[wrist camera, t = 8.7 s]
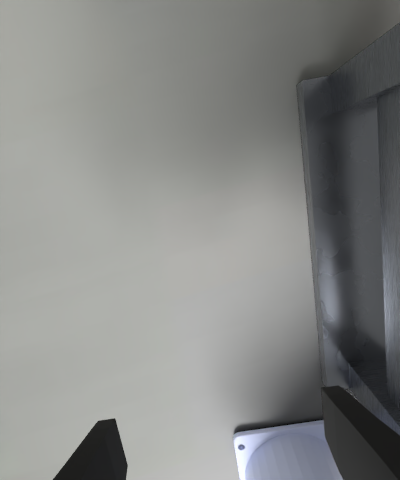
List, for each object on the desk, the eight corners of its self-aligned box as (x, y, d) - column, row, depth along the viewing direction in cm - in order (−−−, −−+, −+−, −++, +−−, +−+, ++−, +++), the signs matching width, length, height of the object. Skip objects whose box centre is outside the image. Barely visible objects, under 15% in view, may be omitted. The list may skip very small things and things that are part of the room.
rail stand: (405, 369, 22) (502, 460, 15) (322, 381, 22) (379, 477, 15) (399, 67, 18) (529, -1, 11) (296, 85, 18) (359, 28, 11)
